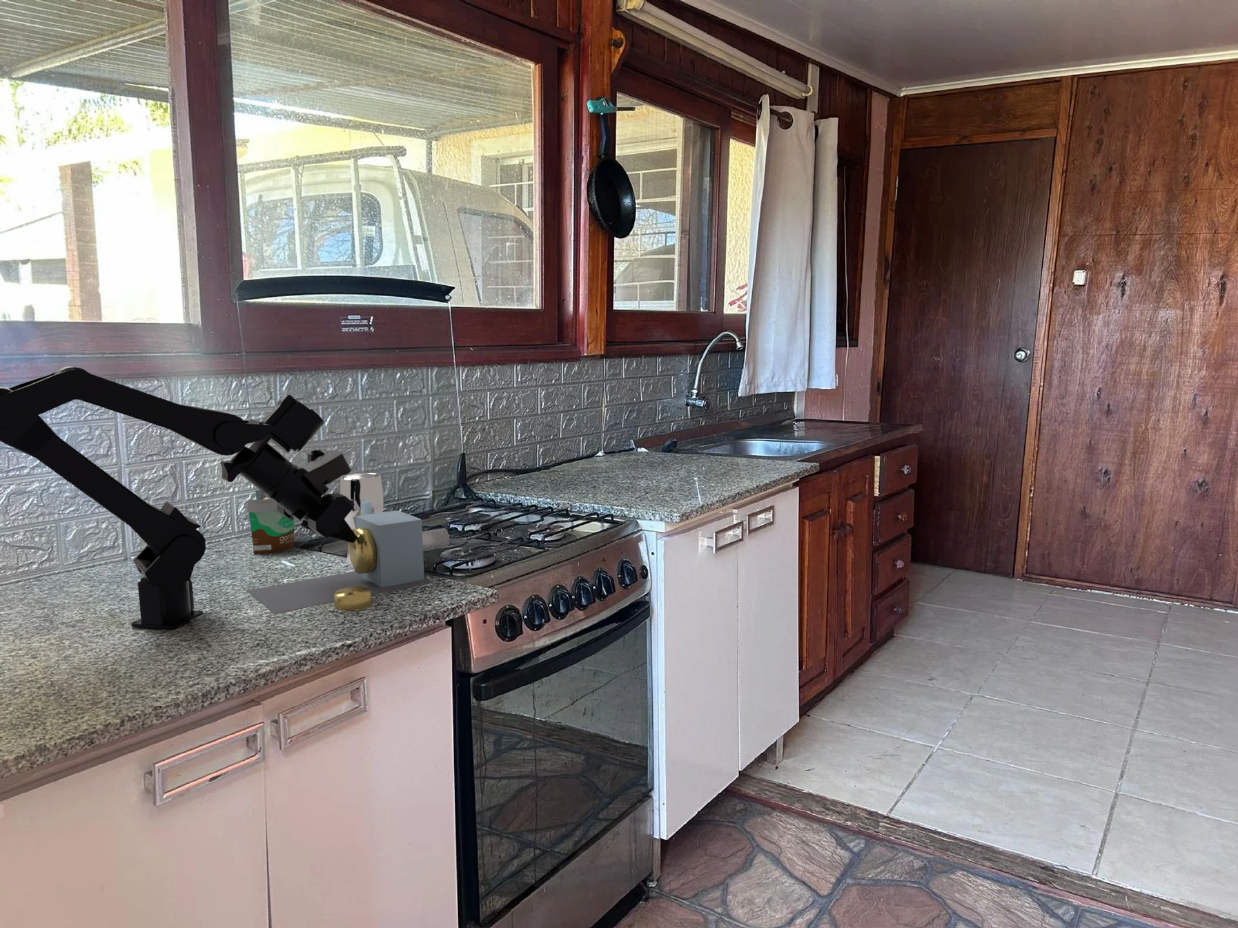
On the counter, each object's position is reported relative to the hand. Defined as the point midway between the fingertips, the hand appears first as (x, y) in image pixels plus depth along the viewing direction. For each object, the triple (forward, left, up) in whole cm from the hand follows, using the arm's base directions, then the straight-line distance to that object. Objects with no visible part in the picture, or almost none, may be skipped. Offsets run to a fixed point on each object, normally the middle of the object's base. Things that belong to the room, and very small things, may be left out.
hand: (354, 540), depth 133 cm
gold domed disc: (-10, -5, -7) cm, 13 cm away
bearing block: (+4, -4, -7) cm, 9 cm away
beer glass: (+13, +5, -7) cm, 16 cm away
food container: (+20, +25, -7) cm, 33 cm away
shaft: (+6, -5, -5) cm, 9 cm away
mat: (-2, +2, -7) cm, 8 cm away
